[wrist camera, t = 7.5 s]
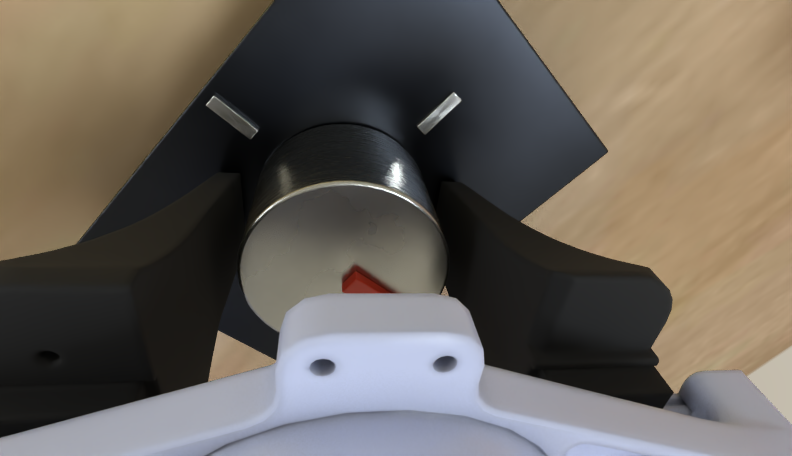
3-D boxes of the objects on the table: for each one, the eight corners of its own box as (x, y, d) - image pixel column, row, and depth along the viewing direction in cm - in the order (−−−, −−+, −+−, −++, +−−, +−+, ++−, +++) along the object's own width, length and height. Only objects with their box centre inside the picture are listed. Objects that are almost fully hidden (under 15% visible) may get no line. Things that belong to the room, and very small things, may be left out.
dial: (222, 213, 14) (189, 299, 11) (330, 84, 12) (331, 140, 9) (352, 291, 16) (358, 382, 13) (458, 193, 14) (495, 269, 11)
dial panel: (318, 328, 21) (317, 385, 18) (107, 204, 16) (65, 257, 14) (567, 119, 17) (612, 153, 14) (379, -130, 12) (393, -147, 10)
